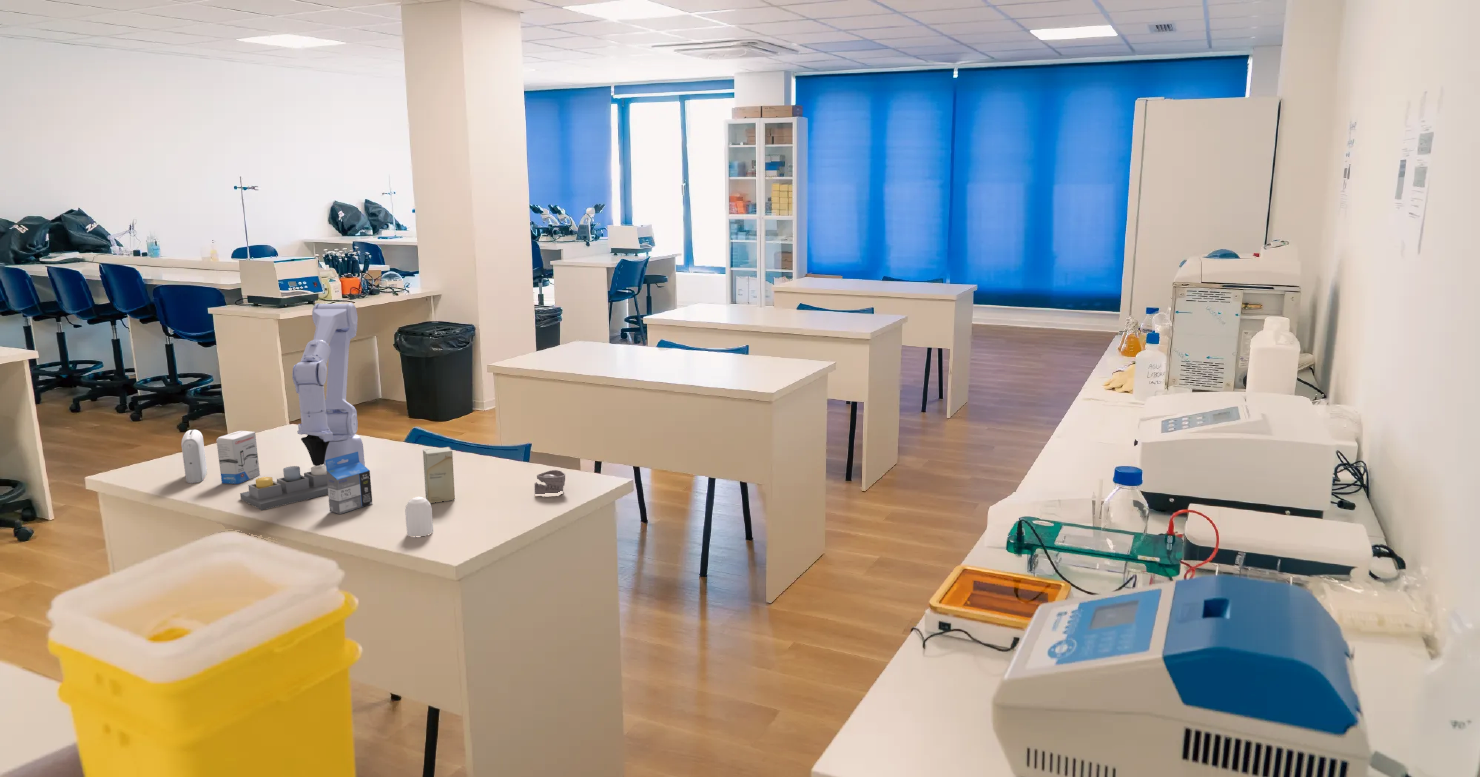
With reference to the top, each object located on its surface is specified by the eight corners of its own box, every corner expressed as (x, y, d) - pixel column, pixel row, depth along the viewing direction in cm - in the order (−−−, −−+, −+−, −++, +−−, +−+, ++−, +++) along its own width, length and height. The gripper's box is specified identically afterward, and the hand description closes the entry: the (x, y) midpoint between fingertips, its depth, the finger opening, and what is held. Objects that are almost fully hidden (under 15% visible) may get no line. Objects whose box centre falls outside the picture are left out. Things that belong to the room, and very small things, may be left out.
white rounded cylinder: (437, 528, 206) (434, 493, 204) (427, 537, 201) (425, 501, 199) (412, 528, 206) (410, 493, 204) (403, 537, 201) (400, 501, 199)
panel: (323, 480, 241) (322, 465, 240) (346, 490, 233) (344, 474, 232) (240, 499, 226) (238, 483, 225) (261, 510, 218) (259, 493, 217)
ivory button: (323, 475, 236) (322, 464, 236) (330, 478, 234) (329, 467, 233) (309, 478, 234) (308, 467, 233) (315, 481, 231) (314, 470, 231)
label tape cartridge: (339, 515, 215) (334, 462, 212) (329, 512, 217) (324, 460, 214) (373, 504, 222) (368, 453, 220) (362, 501, 224) (358, 450, 222)
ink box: (237, 484, 237) (232, 439, 235) (220, 483, 238) (215, 438, 236) (261, 474, 246) (256, 430, 243) (244, 473, 247) (239, 429, 244)
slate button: (296, 476, 231) (295, 465, 231) (303, 479, 229) (302, 468, 228) (281, 479, 229) (280, 468, 228) (288, 482, 226) (287, 471, 226)
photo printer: (204, 482, 240) (198, 434, 237) (184, 484, 238) (178, 436, 236) (208, 471, 249) (203, 425, 247) (190, 473, 247) (184, 427, 245)
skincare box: (428, 504, 222) (424, 454, 220) (425, 498, 226) (421, 449, 223) (456, 500, 225) (452, 450, 222) (452, 494, 229) (449, 446, 226)
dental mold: (546, 501, 224) (545, 480, 223) (529, 494, 229) (528, 475, 228) (573, 493, 230) (573, 473, 229) (556, 487, 235) (555, 467, 234)
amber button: (269, 487, 227) (268, 475, 226) (276, 490, 224) (275, 478, 224) (254, 490, 224) (252, 479, 224) (260, 493, 222) (259, 482, 221)
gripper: (283, 409, 232) (289, 462, 235) (310, 418, 223) (315, 474, 225) (312, 404, 237) (317, 456, 240) (339, 413, 228) (344, 467, 230)
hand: (318, 464), depth 233 cm, fingers closed
